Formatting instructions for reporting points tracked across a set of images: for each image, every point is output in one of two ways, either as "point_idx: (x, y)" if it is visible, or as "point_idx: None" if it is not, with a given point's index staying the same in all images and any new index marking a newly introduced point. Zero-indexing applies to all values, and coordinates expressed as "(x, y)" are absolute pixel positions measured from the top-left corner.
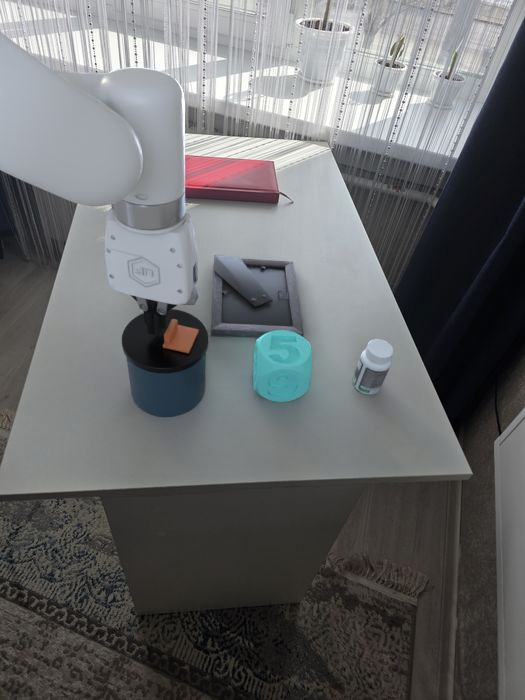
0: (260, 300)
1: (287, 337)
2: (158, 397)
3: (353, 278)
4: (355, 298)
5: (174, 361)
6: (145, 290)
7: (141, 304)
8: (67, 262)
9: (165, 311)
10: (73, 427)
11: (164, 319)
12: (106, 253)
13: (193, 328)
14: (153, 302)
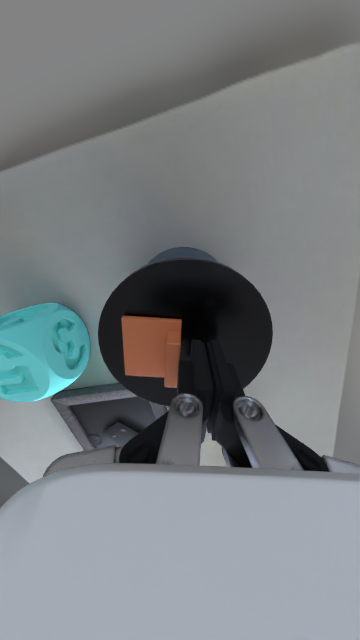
0: (115, 430)
1: (18, 391)
2: (180, 251)
3: (41, 466)
4: (28, 447)
5: (145, 288)
6: (285, 576)
7: (258, 417)
8: (334, 434)
9: (172, 407)
10: (294, 201)
11: (182, 381)
12: None
13: (136, 375)
14: (221, 429)
